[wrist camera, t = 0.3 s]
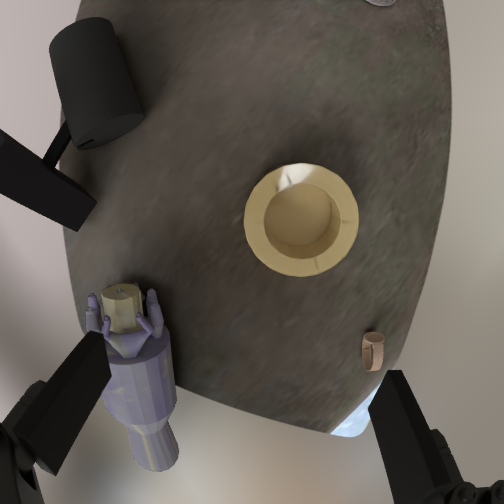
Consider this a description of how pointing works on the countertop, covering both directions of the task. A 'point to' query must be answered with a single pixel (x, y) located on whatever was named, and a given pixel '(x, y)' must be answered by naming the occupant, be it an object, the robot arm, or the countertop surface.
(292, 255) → the tape roll
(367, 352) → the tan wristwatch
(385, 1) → the pill bottle
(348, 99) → the countertop surface
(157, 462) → the decorative object
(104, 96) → the light fixture
